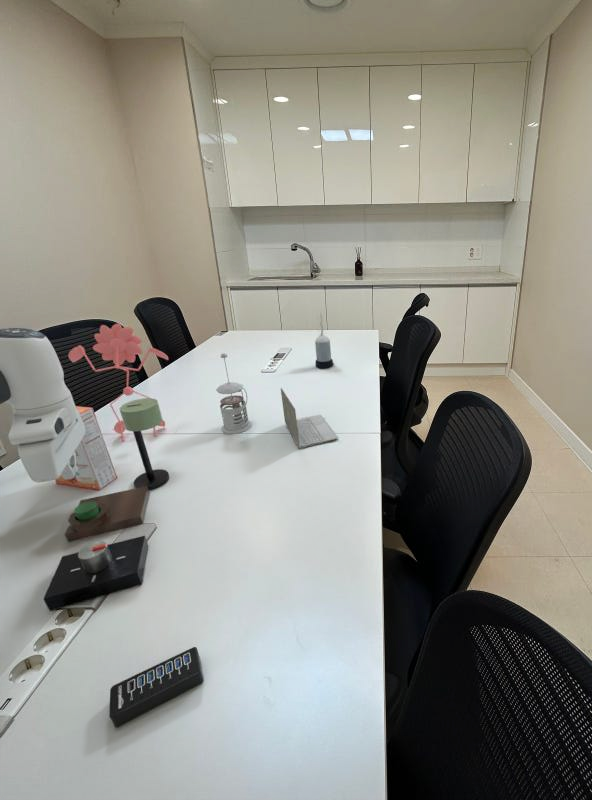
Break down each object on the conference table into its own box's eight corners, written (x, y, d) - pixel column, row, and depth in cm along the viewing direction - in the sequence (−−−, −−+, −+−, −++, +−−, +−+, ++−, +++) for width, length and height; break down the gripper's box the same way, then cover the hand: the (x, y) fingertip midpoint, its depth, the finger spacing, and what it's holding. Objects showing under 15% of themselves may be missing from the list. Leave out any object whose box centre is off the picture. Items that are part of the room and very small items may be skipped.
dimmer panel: (49, 611, 66) (42, 598, 65) (67, 567, 74) (61, 555, 73) (141, 584, 70) (137, 571, 69) (148, 546, 79) (144, 534, 78)
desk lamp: (132, 494, 95) (106, 416, 86) (137, 477, 102) (113, 402, 93) (176, 484, 98) (155, 408, 90) (178, 468, 105) (159, 396, 96)
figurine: (184, 433, 124) (156, 324, 109) (91, 447, 117) (49, 333, 103) (189, 413, 137) (165, 314, 123) (106, 425, 130) (71, 322, 116)
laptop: (338, 439, 117) (336, 400, 112) (298, 449, 113) (293, 409, 107) (321, 416, 132) (317, 380, 127) (284, 424, 128) (279, 387, 123)
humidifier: (336, 366, 180) (332, 312, 170) (319, 370, 177) (315, 315, 166) (329, 362, 187) (325, 310, 177) (313, 365, 183) (308, 312, 173)
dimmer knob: (81, 576, 69) (74, 560, 67) (87, 558, 72) (81, 543, 71) (109, 569, 70) (103, 553, 69) (114, 552, 74) (108, 536, 72)
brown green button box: (67, 544, 80) (60, 529, 79) (83, 507, 91) (78, 493, 89) (142, 525, 85) (138, 510, 83) (150, 492, 95) (145, 479, 94)
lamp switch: (74, 523, 81) (71, 515, 80) (80, 511, 84) (77, 503, 83) (97, 517, 82) (94, 510, 81) (101, 506, 85) (98, 499, 85)
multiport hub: (204, 682, 55) (200, 672, 54) (114, 729, 50) (108, 718, 49) (199, 655, 58) (196, 645, 57) (115, 696, 53) (110, 686, 52)
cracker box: (54, 485, 99) (23, 412, 91) (76, 472, 105) (48, 401, 96) (99, 492, 96) (70, 417, 88) (118, 478, 102) (93, 406, 93)
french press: (214, 431, 124) (198, 357, 114) (236, 416, 134) (223, 346, 124) (241, 435, 121) (227, 359, 111) (261, 419, 131) (250, 348, 121)
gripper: (46, 396, 81) (68, 453, 86) (3, 441, 63) (33, 509, 69) (82, 392, 83) (101, 447, 88) (49, 434, 65) (75, 500, 71)
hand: (71, 475), depth 79 cm, fingers closed
